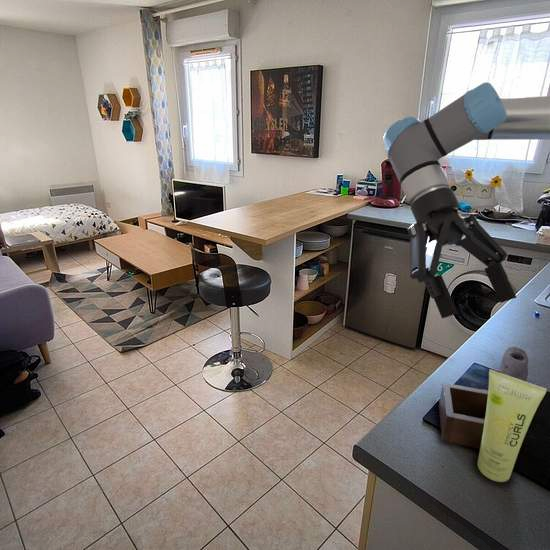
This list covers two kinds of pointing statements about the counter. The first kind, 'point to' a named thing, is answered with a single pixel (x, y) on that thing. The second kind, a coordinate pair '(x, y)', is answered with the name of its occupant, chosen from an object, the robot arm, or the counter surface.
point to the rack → (458, 425)
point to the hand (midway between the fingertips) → (480, 308)
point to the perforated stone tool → (515, 363)
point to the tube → (506, 423)
